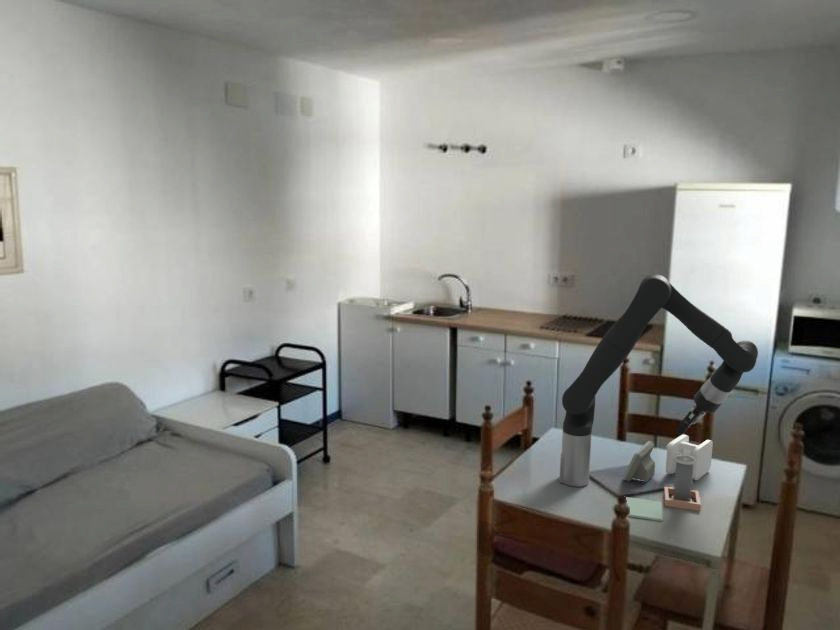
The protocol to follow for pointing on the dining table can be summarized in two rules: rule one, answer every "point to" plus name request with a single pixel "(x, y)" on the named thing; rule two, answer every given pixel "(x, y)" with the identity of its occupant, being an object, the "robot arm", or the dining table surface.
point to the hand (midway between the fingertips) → (684, 428)
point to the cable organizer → (698, 452)
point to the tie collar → (680, 503)
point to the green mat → (645, 509)
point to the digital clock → (641, 464)
